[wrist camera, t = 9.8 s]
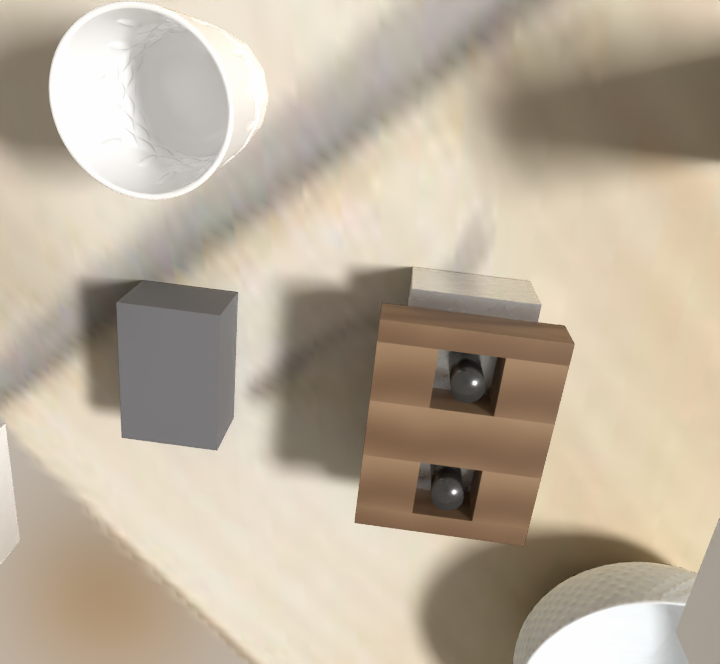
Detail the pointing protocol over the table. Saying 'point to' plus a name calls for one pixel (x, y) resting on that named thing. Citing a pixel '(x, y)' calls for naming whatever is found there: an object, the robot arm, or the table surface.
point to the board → (460, 422)
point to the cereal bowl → (609, 617)
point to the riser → (177, 363)
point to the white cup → (153, 98)
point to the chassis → (461, 369)
